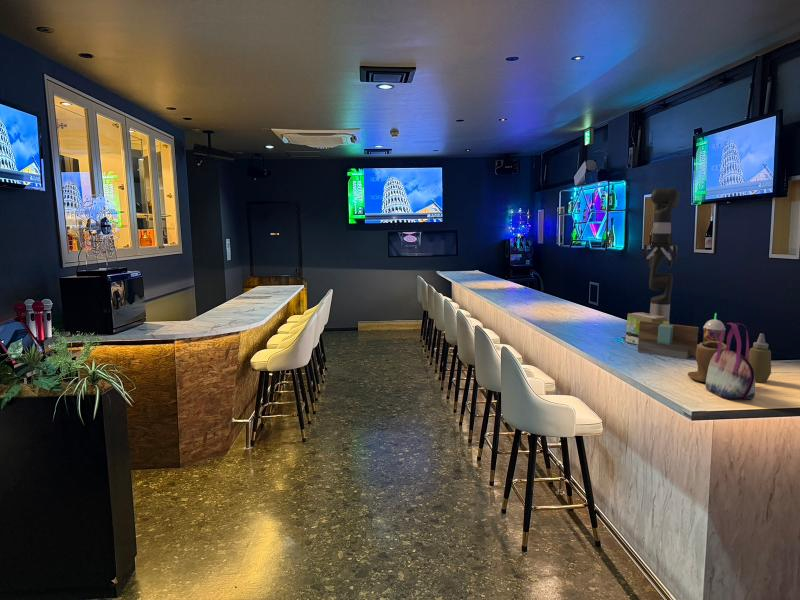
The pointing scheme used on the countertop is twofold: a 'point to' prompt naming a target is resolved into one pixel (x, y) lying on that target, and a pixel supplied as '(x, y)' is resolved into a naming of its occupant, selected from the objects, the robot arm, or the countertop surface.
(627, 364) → the countertop surface
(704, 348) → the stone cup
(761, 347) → the squeeze bottle
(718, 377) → the handbag
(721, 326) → the smoothie
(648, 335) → the wall board
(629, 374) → the countertop surface
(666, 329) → the cabinet
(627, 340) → the tea box
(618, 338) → the countertop surface
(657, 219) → the robot arm
